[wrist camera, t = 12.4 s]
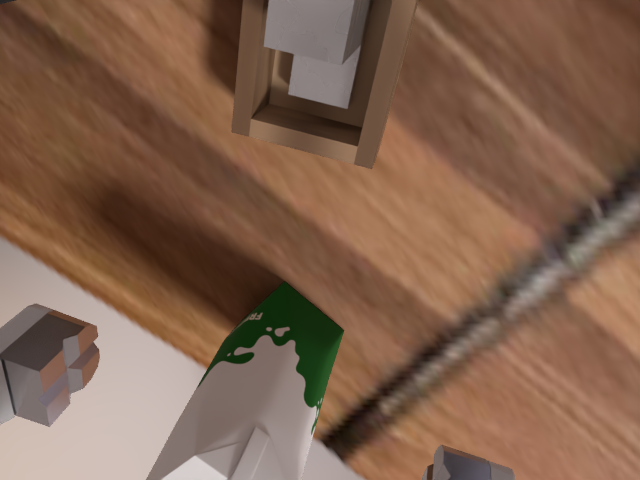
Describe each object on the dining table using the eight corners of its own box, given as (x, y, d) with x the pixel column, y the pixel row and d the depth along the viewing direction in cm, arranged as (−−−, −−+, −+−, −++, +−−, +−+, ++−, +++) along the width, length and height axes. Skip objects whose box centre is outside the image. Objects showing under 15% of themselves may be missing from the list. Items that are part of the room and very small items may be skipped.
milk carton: (299, 374, 48) (219, 602, 31) (227, 318, 46) (102, 527, 29) (358, 331, 43) (303, 570, 27) (282, 267, 42) (170, 479, 25)
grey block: (376, -13, 29) (354, -2, 22) (351, 103, 32) (326, 142, 26) (311, -27, 29) (271, -21, 22) (294, 88, 33) (255, 123, 26)
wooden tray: (433, -57, 28) (431, -59, 24) (380, 145, 34) (372, 169, 31) (277, -91, 29) (251, -98, 25) (254, 112, 35) (231, 131, 31)
